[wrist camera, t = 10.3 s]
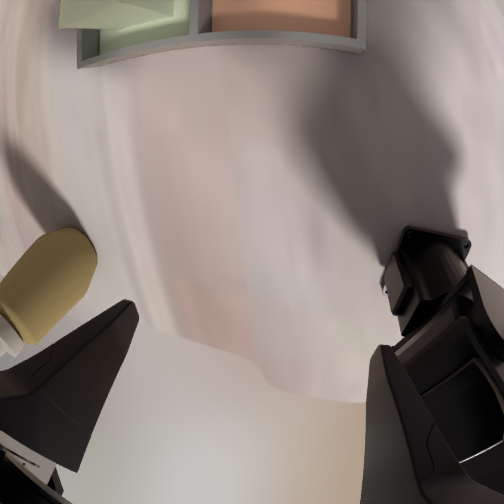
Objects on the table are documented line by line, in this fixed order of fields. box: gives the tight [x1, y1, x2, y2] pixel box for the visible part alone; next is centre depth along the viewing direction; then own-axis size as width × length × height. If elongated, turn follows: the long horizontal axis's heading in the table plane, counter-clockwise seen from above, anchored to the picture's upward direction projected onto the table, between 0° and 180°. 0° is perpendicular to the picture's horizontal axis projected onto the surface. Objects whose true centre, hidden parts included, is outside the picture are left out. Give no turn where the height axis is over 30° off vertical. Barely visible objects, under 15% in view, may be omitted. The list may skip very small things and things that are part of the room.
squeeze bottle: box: [0, 227, 97, 357], centre depth 20 cm, size 8×8×18 cm
